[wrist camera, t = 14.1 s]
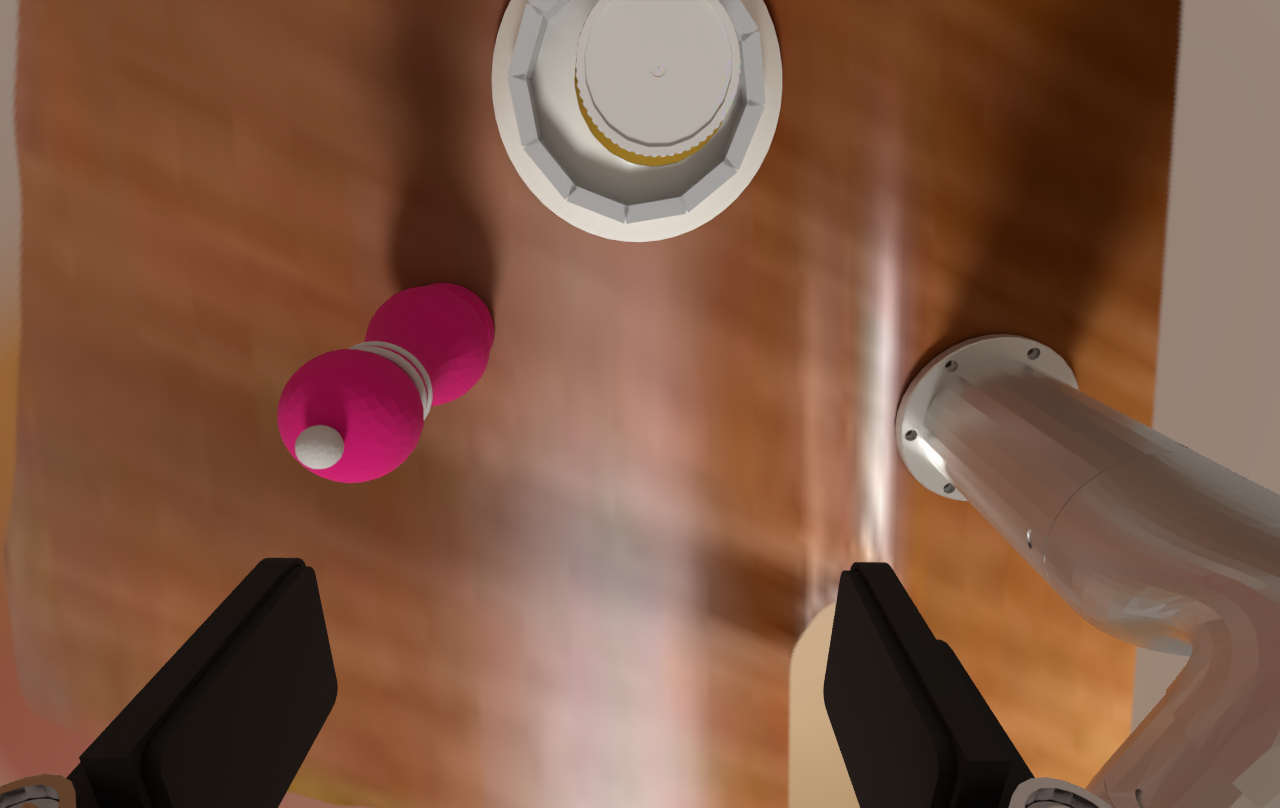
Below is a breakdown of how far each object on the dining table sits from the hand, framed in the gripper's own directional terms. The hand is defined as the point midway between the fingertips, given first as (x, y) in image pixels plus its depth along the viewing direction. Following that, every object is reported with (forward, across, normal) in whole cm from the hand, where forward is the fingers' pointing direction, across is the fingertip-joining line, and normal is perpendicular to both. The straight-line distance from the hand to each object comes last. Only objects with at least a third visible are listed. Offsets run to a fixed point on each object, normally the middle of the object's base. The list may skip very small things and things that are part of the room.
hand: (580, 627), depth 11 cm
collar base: (+33, -1, -11) cm, 35 cm away
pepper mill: (+34, +12, +3) cm, 36 cm away
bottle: (+32, -2, -11) cm, 34 cm away
